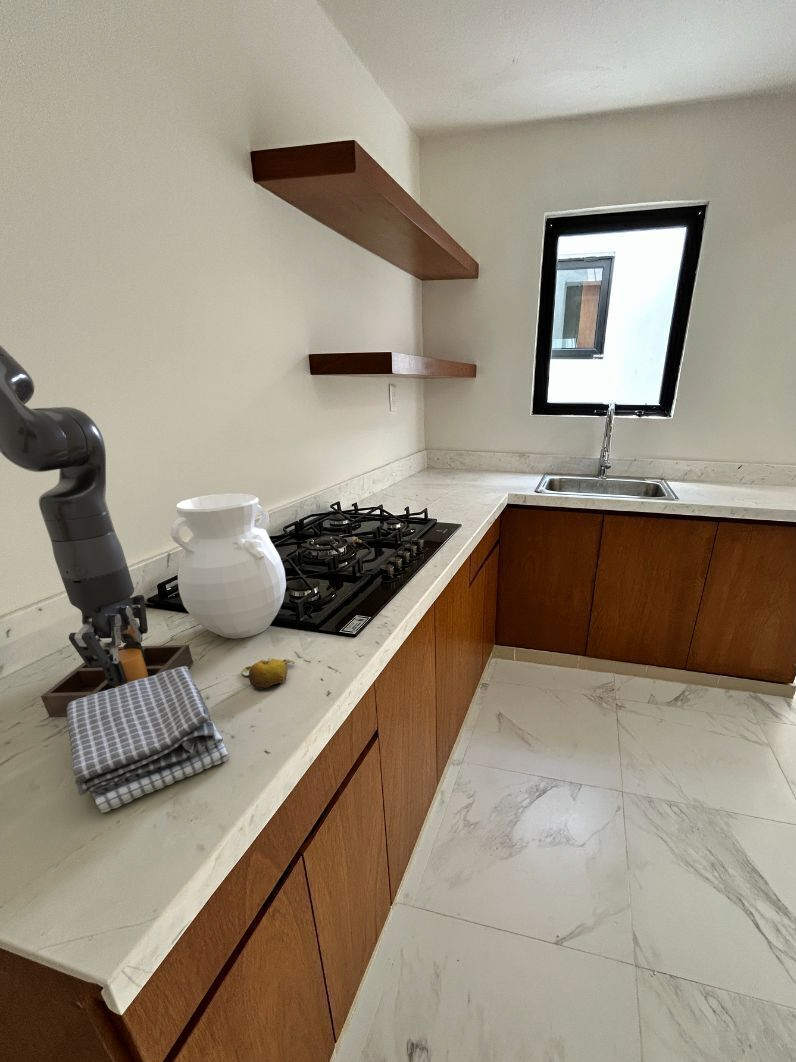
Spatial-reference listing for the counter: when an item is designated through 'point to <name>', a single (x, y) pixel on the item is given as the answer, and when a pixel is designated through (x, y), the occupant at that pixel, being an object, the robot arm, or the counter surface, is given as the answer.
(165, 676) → the towel
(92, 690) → the grid
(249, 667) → the yellow rounded lumpy piece
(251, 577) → the white vase
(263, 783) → the counter surface
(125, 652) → the orange cylinder
